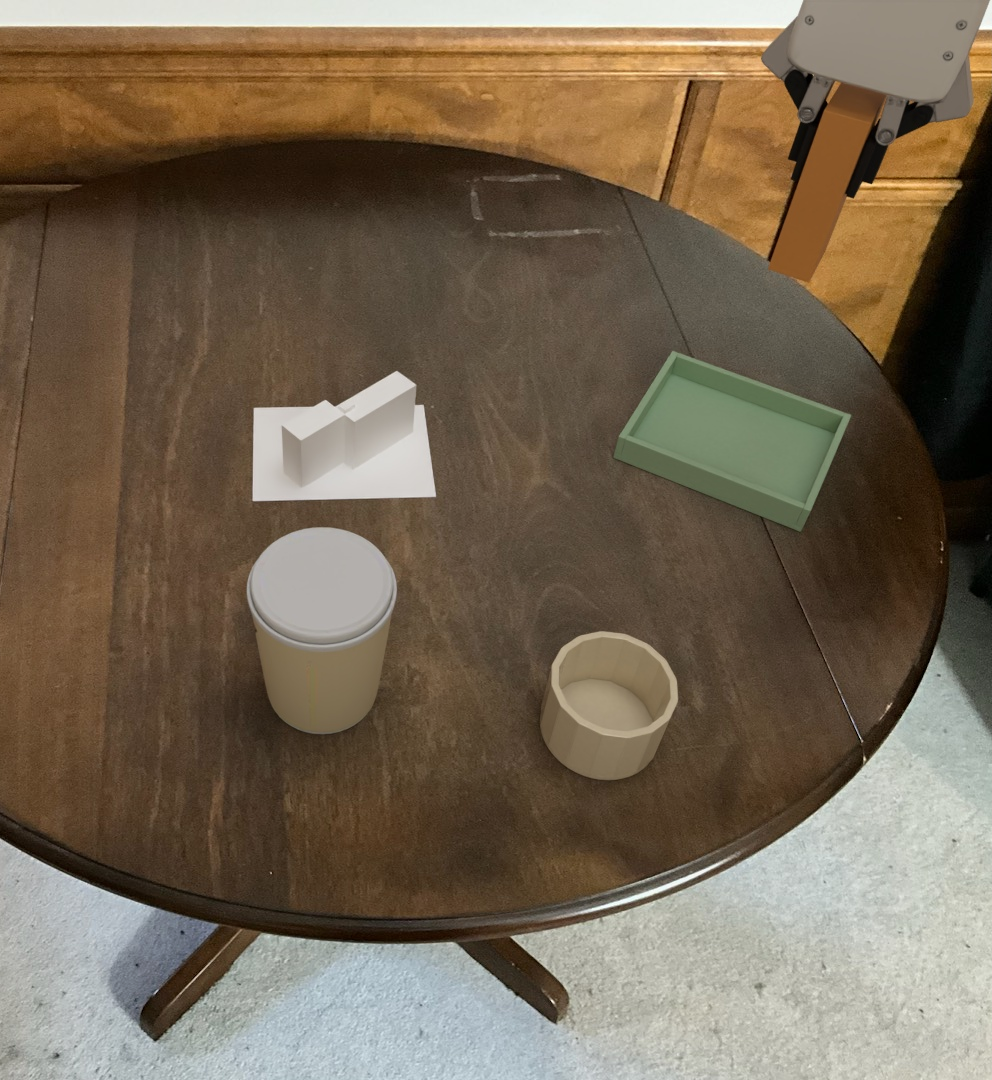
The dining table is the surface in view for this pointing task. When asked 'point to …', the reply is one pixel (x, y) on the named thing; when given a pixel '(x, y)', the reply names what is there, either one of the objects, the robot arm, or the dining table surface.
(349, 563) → the coffee cup
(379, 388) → the napkin holder
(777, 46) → the robot arm
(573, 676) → the cup
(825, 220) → the orange rectangular bar
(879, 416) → the dining table surface
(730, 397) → the tray
